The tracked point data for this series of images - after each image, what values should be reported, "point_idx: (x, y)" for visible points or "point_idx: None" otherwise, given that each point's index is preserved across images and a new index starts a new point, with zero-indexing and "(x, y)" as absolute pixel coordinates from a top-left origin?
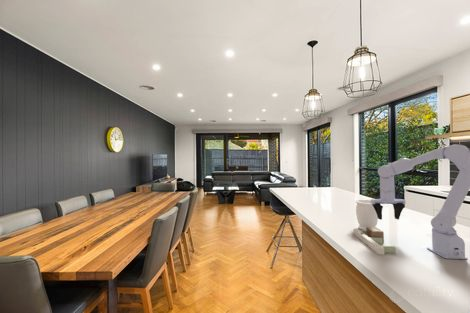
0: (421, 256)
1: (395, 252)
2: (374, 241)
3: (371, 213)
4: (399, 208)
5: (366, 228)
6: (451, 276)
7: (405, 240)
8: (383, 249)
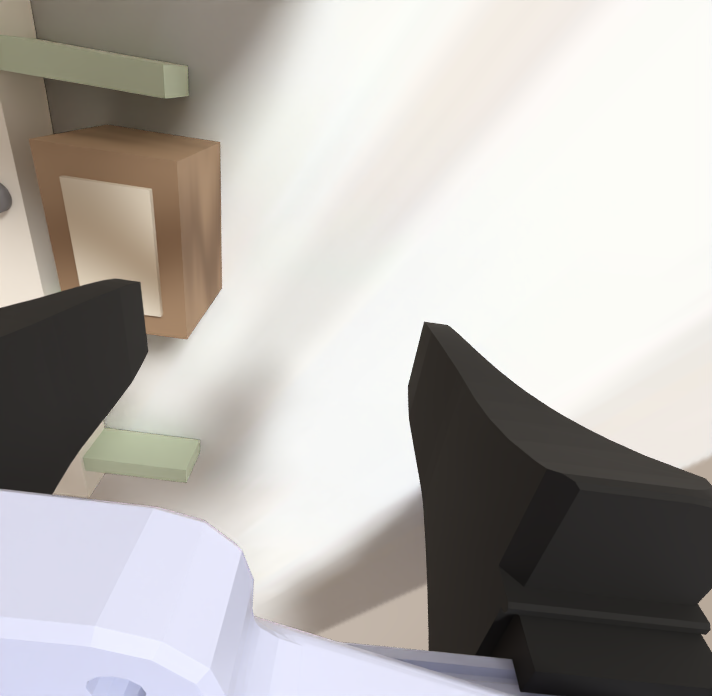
0: (324, 497)
1: (197, 454)
2: None
3: None
4: (434, 616)
5: (41, 145)
6: (294, 616)
7: (462, 267)
8: (89, 490)
